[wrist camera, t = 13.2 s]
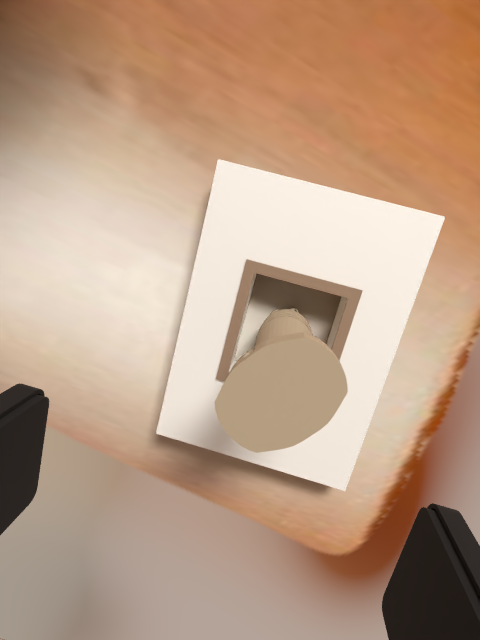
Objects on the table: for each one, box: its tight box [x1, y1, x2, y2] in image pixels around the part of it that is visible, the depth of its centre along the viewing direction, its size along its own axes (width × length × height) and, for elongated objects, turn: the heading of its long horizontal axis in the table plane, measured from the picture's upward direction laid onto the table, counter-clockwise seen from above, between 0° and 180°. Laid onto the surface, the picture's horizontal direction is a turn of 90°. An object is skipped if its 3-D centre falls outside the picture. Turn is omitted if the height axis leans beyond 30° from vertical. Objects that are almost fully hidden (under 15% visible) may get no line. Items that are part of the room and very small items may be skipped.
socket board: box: [156, 159, 445, 491], centre depth 32 cm, size 22×16×3 cm
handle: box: [215, 308, 348, 453], centre depth 27 cm, size 5×6×15 cm
